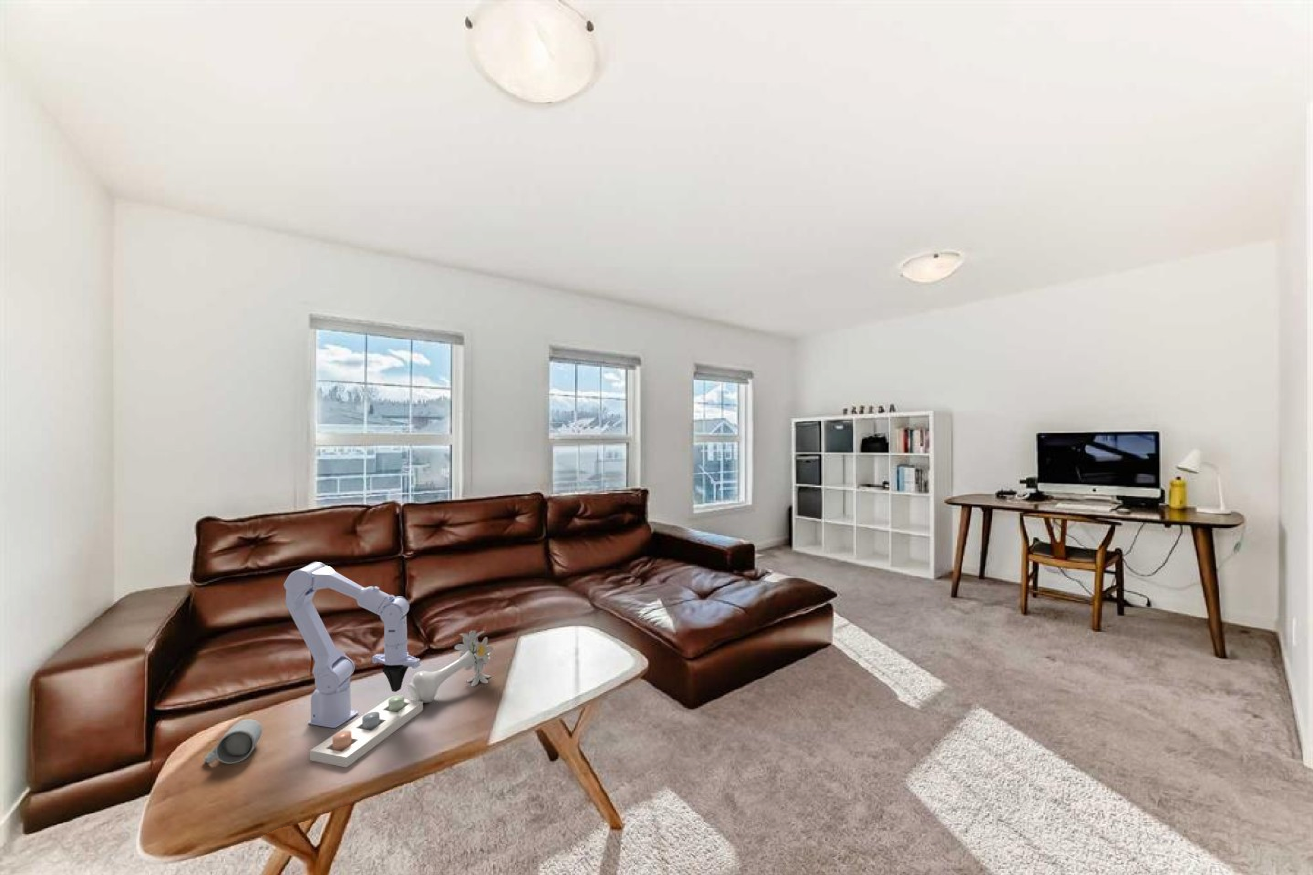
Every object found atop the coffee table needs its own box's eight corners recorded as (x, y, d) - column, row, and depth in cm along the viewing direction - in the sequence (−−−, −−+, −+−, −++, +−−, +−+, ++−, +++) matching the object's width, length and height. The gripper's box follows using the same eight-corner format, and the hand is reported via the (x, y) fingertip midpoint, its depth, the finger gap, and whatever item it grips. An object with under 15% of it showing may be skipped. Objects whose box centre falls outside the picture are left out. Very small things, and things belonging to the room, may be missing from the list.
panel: (310, 759, 124) (310, 750, 124) (391, 705, 149) (391, 696, 149) (346, 767, 121) (346, 757, 121) (422, 709, 146) (422, 701, 146)
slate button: (358, 730, 134) (358, 718, 134) (371, 722, 138) (370, 710, 138) (371, 733, 133) (371, 720, 133) (383, 724, 137) (382, 712, 137)
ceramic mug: (264, 741, 132) (263, 711, 132) (254, 759, 125) (253, 728, 125) (212, 752, 128) (211, 722, 128) (199, 772, 120) (198, 740, 120)
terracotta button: (328, 751, 125) (328, 738, 125) (342, 742, 129) (342, 729, 129) (341, 754, 124) (341, 741, 124) (355, 744, 128) (355, 731, 128)
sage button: (385, 712, 142) (385, 701, 142) (395, 705, 146) (395, 694, 146) (397, 714, 141) (396, 703, 141) (407, 707, 145) (407, 696, 145)
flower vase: (428, 730, 148) (502, 678, 165) (416, 680, 142) (494, 632, 159) (408, 707, 156) (481, 660, 174) (396, 659, 150) (472, 615, 168)
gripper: (427, 639, 146) (427, 686, 146) (385, 634, 149) (386, 680, 150) (409, 649, 139) (410, 698, 139) (366, 644, 143) (366, 692, 143)
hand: (396, 689), depth 144 cm, fingers closed
